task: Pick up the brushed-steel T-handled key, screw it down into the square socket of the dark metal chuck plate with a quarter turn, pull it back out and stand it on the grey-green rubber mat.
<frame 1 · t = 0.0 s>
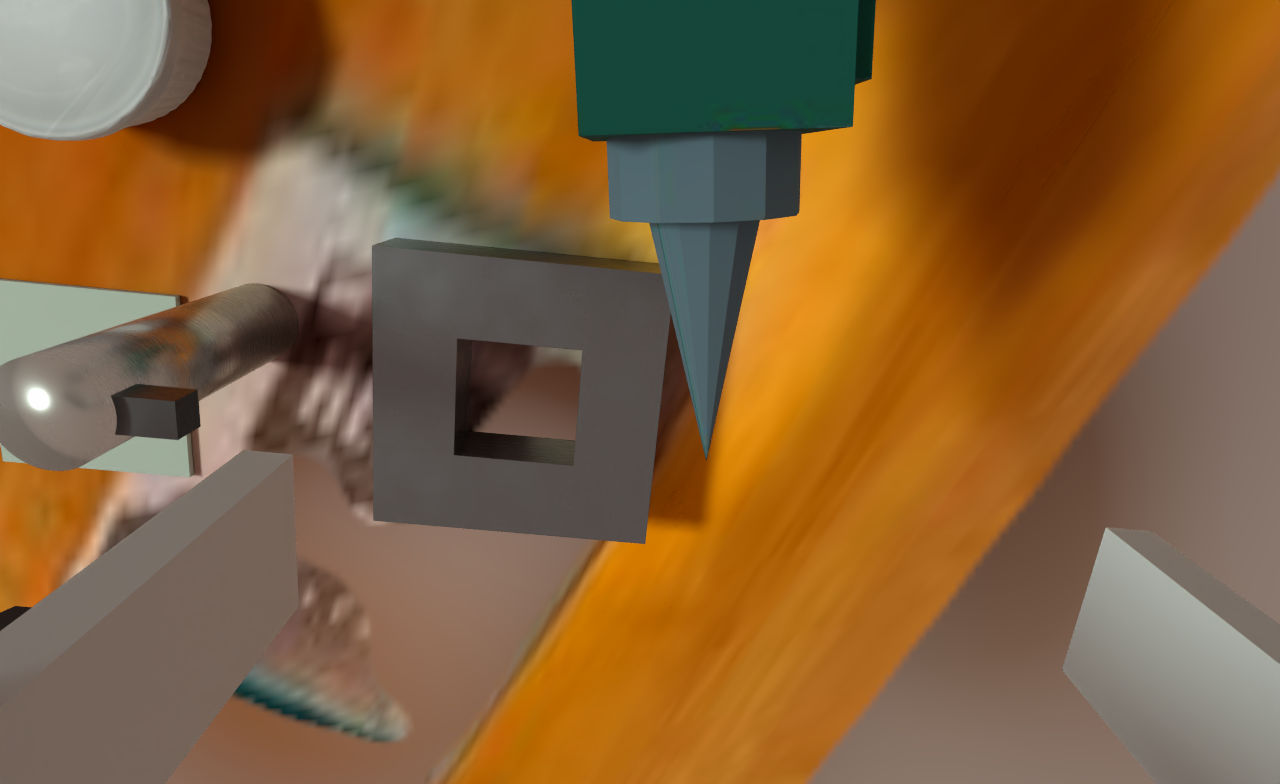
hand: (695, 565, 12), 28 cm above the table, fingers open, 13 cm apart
chuck plate: (526, 383, 41), on the table
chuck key: (259, 321, 40), on the table
rubber mat: (91, 379, 41), on the table
ramekin: (118, 15, 36), on the table
power tool: (678, 4, 36), on the table
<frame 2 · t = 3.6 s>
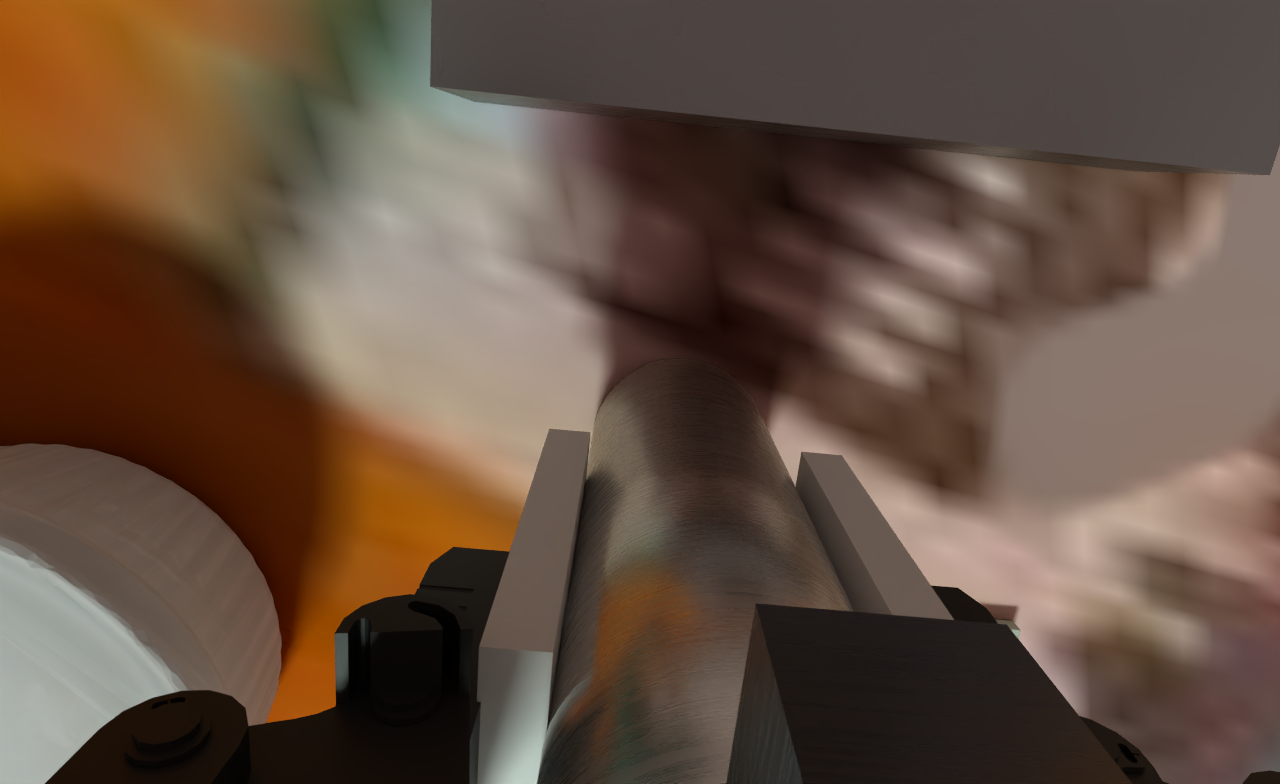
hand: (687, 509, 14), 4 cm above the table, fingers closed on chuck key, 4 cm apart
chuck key: (678, 441, 18), on the table, touching gripper
ramekin: (106, 605, 20), on the table
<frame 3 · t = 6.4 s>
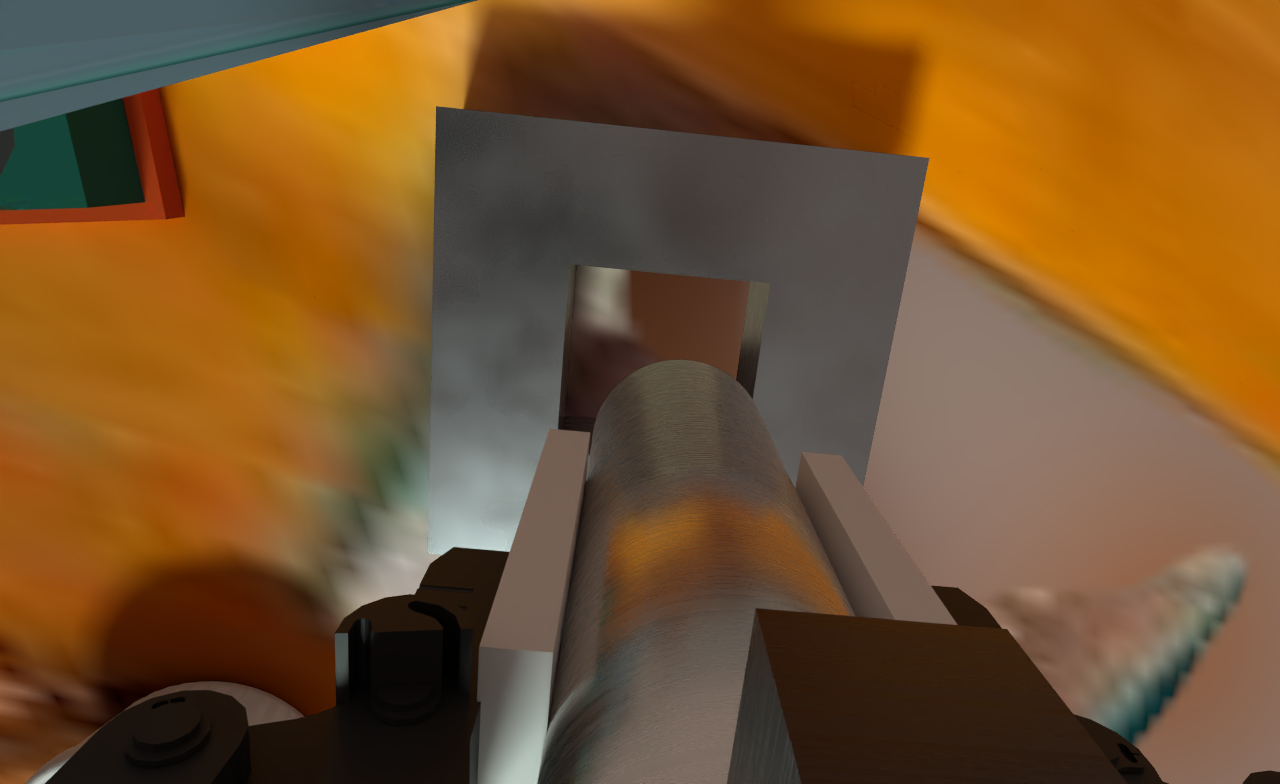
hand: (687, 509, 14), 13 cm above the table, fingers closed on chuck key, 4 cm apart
chuck plate: (656, 344, 27), on the table
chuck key: (677, 442, 18), point 9 cm above the table, touching gripper
ramekin: (232, 762, 32), on the table
power tool: (90, 107, 25), on the table
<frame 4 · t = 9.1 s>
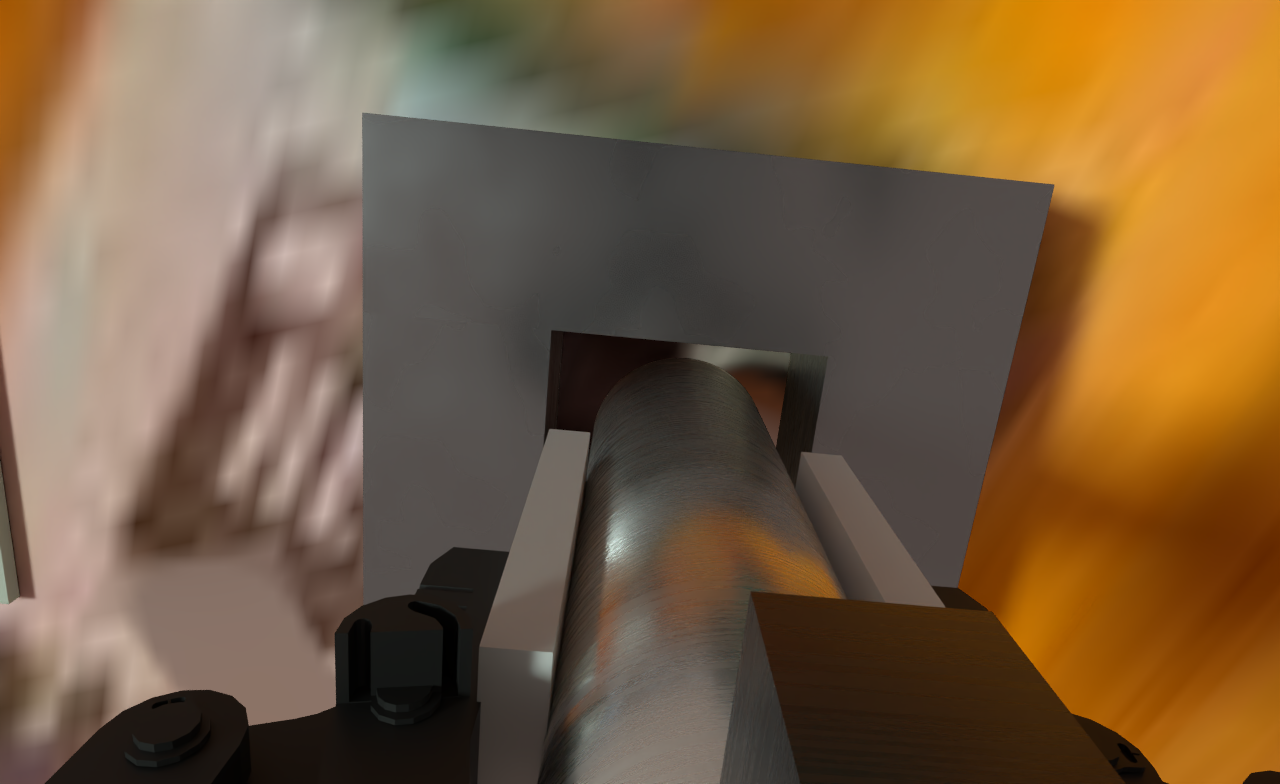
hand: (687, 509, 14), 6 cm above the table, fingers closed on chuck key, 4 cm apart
chuck plate: (668, 423, 21), on the table
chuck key: (677, 439, 18), point 3 cm above the table, touching gripper
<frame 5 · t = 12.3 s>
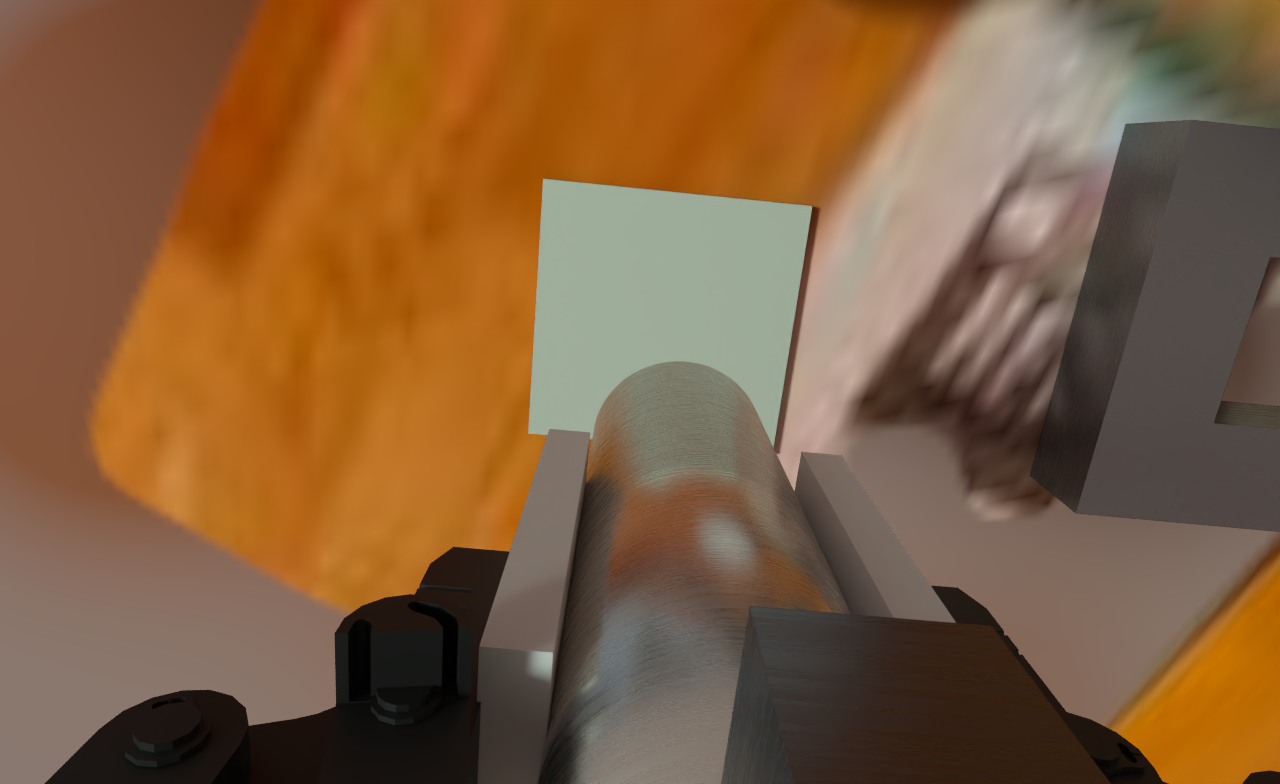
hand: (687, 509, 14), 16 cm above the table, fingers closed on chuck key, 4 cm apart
chuck plate: (1247, 329, 30), on the table
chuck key: (677, 443, 18), point 13 cm above the table, touching gripper
rubber mat: (663, 322, 30), on the table
when the fingers open (4 cm above the table, at t = 14.6 s): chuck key stays where it is, resting on rubber mat.
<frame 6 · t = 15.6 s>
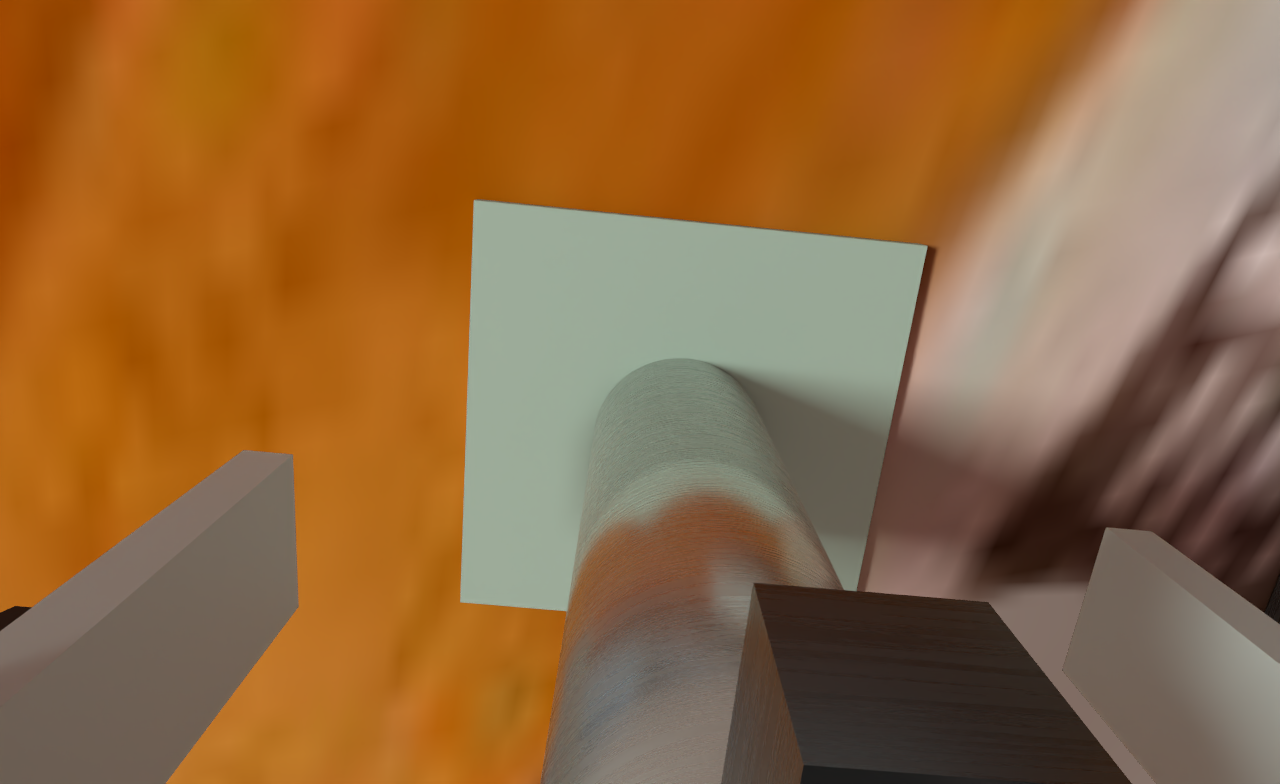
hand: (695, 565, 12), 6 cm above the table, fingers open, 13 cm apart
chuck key: (677, 439, 18), resting on rubber mat
rubber mat: (676, 431, 19), on the table
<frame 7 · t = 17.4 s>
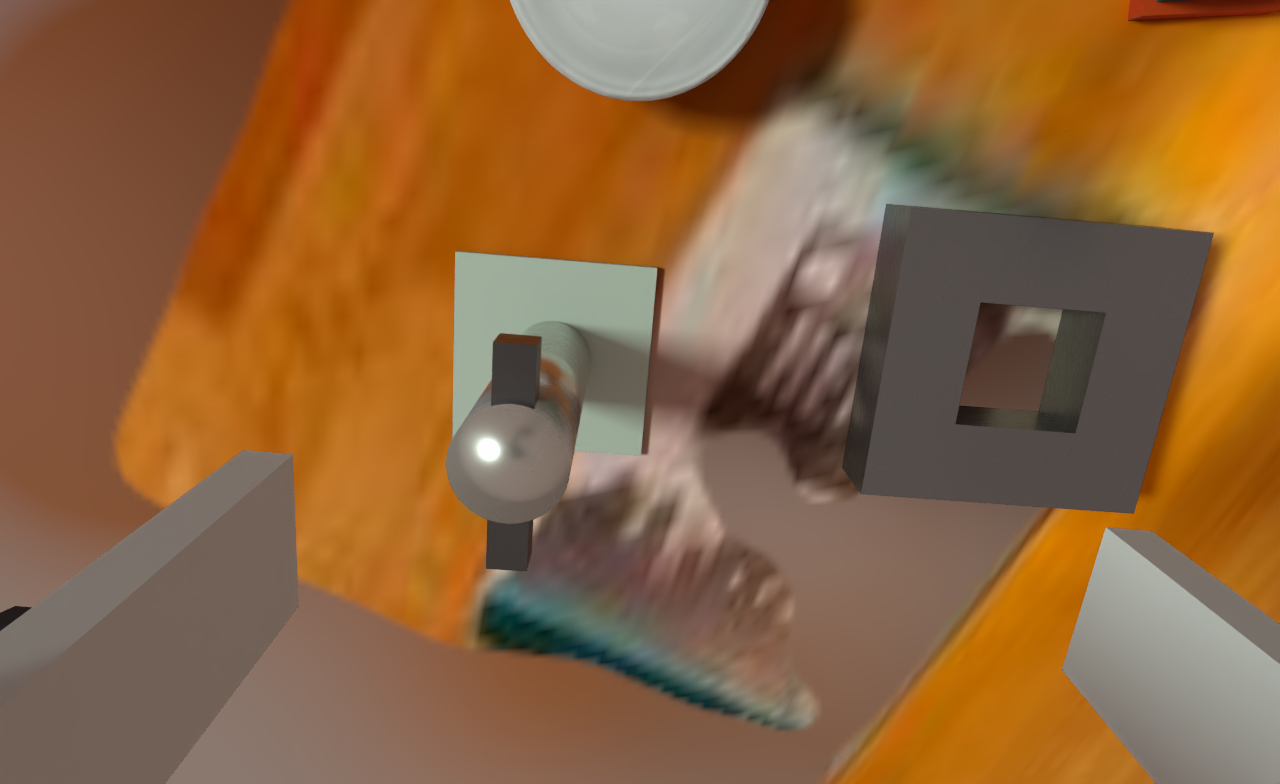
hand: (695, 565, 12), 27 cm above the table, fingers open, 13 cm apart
chuck plate: (995, 352, 40), on the table
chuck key: (552, 359, 39), resting on rubber mat
rubber mat: (552, 356, 40), on the table
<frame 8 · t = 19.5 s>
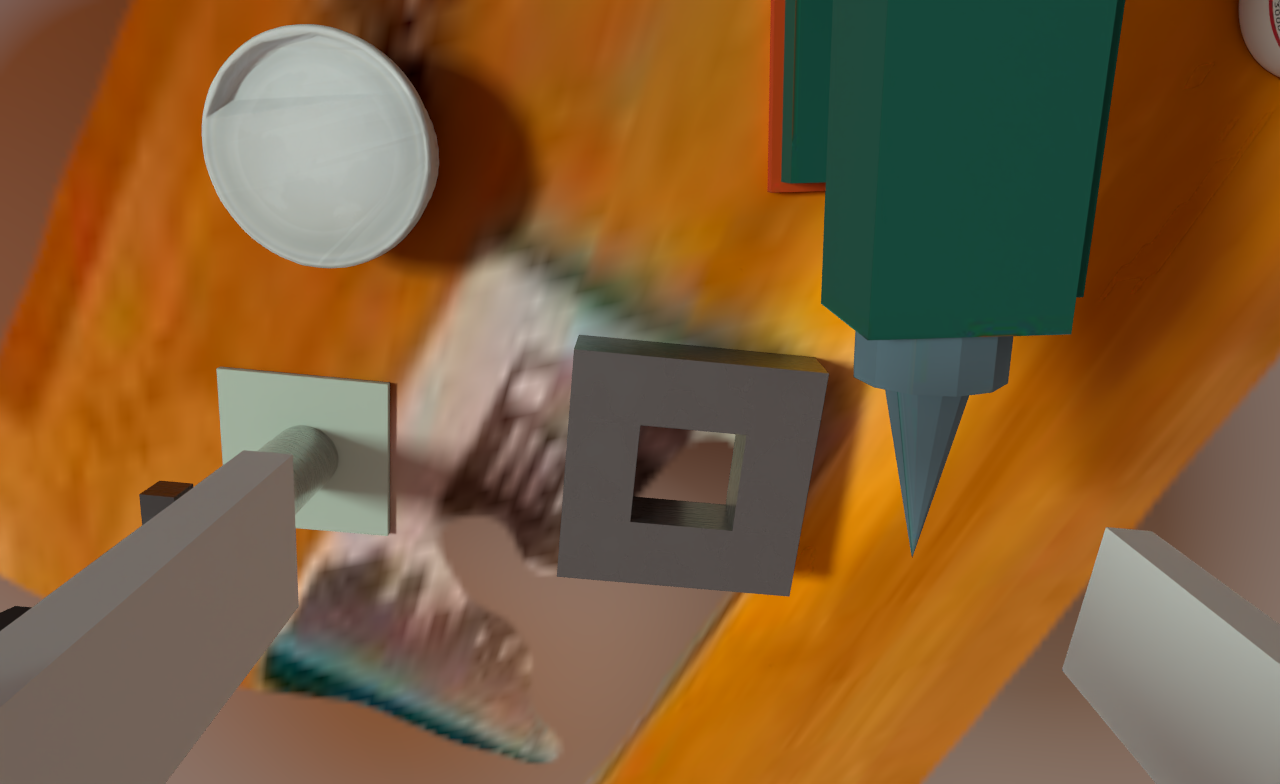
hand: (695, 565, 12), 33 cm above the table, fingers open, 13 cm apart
chuck plate: (683, 456, 47), on the table
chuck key: (305, 456, 46), resting on rubber mat
rubber mat: (307, 452, 47), on the table
ramekin: (355, 151, 42), on the table
power tool: (831, 143, 42), on the table
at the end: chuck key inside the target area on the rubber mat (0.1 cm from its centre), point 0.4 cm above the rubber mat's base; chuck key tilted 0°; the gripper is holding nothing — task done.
